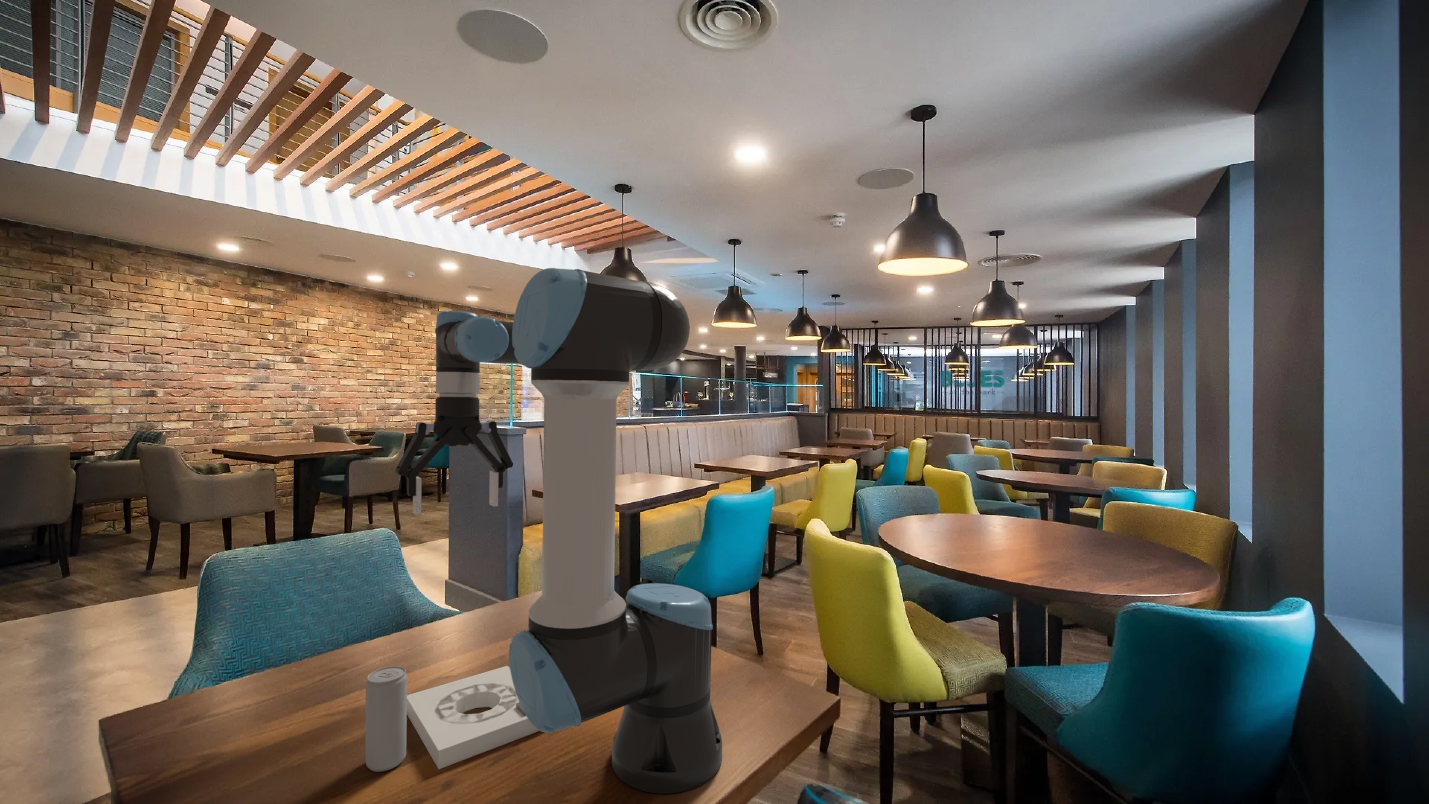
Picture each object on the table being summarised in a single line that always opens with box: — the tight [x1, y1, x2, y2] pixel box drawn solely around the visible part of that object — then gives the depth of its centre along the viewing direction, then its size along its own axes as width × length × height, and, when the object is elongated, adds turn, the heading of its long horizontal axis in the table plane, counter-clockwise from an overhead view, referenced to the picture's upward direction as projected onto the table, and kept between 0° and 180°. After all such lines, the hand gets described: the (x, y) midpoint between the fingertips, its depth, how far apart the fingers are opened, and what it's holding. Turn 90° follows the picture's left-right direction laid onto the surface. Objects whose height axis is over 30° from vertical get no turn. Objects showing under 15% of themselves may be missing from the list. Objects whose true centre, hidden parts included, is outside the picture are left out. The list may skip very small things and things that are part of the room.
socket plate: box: [407, 665, 541, 770], centre depth 89 cm, size 18×16×3 cm
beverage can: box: [365, 665, 408, 773], centre depth 78 cm, size 5×5×12 cm
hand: (456, 509), depth 109 cm, fingers open, 13 cm apart
